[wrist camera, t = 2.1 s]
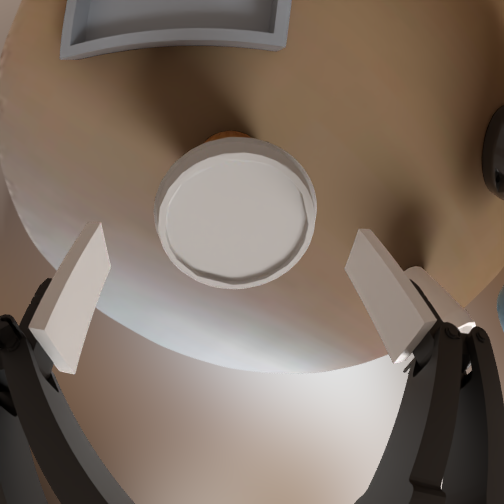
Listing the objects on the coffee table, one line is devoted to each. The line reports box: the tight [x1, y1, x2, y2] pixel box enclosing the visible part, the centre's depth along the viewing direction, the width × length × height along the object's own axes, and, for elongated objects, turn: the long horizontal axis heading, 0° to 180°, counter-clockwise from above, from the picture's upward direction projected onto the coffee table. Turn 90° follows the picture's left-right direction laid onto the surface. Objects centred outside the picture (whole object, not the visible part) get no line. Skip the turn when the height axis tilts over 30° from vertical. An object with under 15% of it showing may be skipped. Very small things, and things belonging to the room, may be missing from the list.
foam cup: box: [404, 266, 476, 334], centre depth 32 cm, size 10×9×13 cm
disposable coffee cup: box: [154, 131, 317, 289], centre depth 19 cm, size 10×10×12 cm
